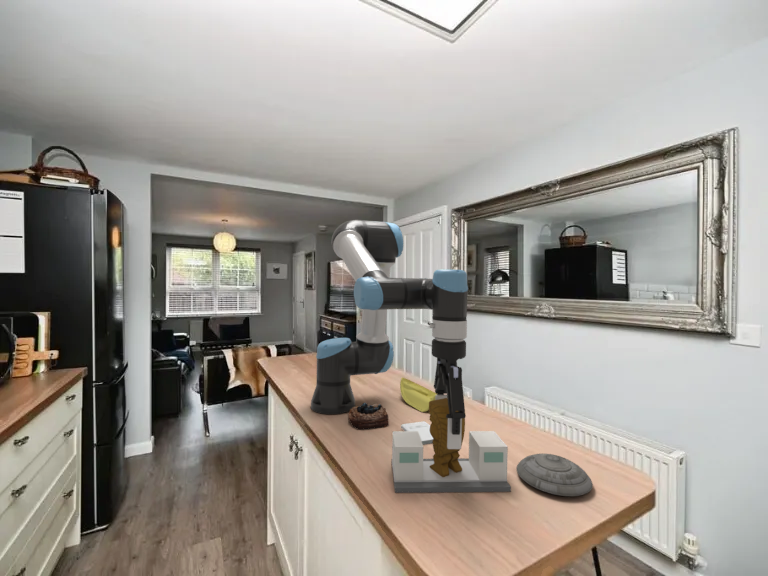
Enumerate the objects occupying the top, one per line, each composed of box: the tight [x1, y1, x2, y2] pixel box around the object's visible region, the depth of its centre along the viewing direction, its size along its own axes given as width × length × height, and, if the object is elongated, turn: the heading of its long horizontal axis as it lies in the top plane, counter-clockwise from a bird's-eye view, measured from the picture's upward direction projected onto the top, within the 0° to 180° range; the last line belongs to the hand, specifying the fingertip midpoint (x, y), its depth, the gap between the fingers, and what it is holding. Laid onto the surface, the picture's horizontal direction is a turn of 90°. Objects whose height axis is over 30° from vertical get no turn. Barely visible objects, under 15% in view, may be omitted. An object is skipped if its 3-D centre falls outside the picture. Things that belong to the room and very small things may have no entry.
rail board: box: [391, 430, 512, 494], centre depth 78 cm, size 12×24×8 cm, turn 92°
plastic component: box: [399, 377, 437, 413], centre depth 128 cm, size 20×7×10 cm
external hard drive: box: [400, 420, 433, 446], centre depth 100 cm, size 2×8×12 cm
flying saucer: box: [515, 453, 594, 497], centre depth 77 cm, size 15×15×6 cm
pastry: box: [348, 402, 390, 431], centre depth 109 cm, size 11×12×6 cm
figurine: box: [428, 398, 466, 477], centre depth 78 cm, size 7×7×15 cm
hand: (446, 434), depth 78 cm, fingers open, 13 cm apart
